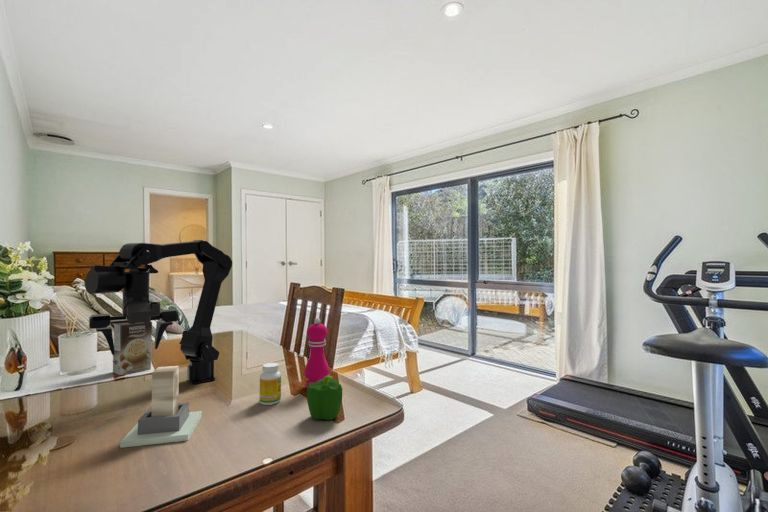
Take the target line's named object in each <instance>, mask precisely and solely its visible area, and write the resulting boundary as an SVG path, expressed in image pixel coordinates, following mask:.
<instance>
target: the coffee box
mask: <svg viewBox="0 0 768 512" xmlns="http://www.w3.org/2000/svg"><path fill="white" fill-rule="evenodd" d="M152 335H153V321H152V320H151V321H150V322H148V323H144V322H141V323H135V324H129V323H127V322H126V323H115V324H114V329H113V343H114V355H113V357H112V358H113V359H112V372H113V373H114V374H116V375H118V376H123V375H128V374H133V373H138V372H143V371H147V370H151V369H152V341H153V340H152V339H153V336H152Z"/></svg>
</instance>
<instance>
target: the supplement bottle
mask: <svg viewBox="0 0 768 512" xmlns="http://www.w3.org/2000/svg"><path fill="white" fill-rule="evenodd" d="M279 369H280V365H279V363H278V362H267V363H264V364H263V365H262V372H261V373H260V374H259V398H258V401H259V403H260V404H261V405H264V406H273V405H276V404H279V402H281V399H282V373H281V372H280V371H279Z"/></svg>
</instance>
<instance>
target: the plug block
mask: <svg viewBox="0 0 768 512" xmlns="http://www.w3.org/2000/svg"><path fill="white" fill-rule="evenodd" d="M179 367H180V365H172V366H171V365H170V366H158V367H157V368H155V369H154V370H153V371H152V372H151V406H152V415H151V417H158V416H169V415H176V414H177V412H178V403H179V385H180V384H179V383H180V382H179V377H180V376H179V374H180V373H179V372H180V371H179V370H180V368H179Z"/></svg>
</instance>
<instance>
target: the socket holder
mask: <svg viewBox="0 0 768 512" xmlns="http://www.w3.org/2000/svg"><path fill="white" fill-rule="evenodd" d="M202 412H203V411H202V410H199V411H198V410H197V411H190V402H181V403H179V402H178V412H177V414H176V415H169V416H158V417H151V415H152V405H151V406H150V407H149V408H148V409H147V410H146V411H145V412H144V413H143V414H142V415H141V416H140V417H139V419H137V423H136V424H135V425H134V426H133V427H132V429H130V431H129V432H128V433H127V434H126V435H125V436H124V437H123V438H122V439H121V440H120V441H119V442H120V443H119V444H120V446H119V447H120V449H122V448H129V447H130V448H131V447H139V446H140V447H141V446H148V445H157V444H158V445H159V444H166V443H167V444H168V443H176V442H177V443H178V442H187V441H189V439H190V438H191V436H192V434H193V433H194V430H195V429H196V427H197V426H198V424H199V422H200V421H201V419H202V416H203V415H202V414H203V413H202Z"/></svg>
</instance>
